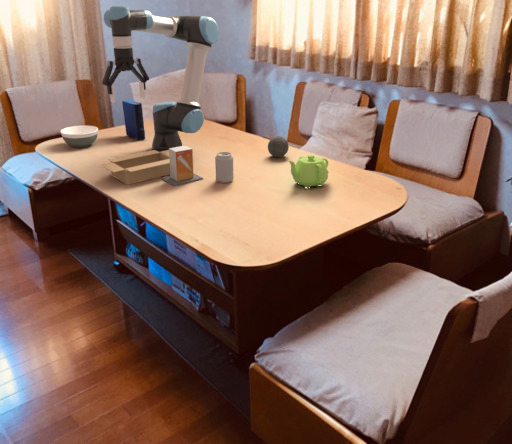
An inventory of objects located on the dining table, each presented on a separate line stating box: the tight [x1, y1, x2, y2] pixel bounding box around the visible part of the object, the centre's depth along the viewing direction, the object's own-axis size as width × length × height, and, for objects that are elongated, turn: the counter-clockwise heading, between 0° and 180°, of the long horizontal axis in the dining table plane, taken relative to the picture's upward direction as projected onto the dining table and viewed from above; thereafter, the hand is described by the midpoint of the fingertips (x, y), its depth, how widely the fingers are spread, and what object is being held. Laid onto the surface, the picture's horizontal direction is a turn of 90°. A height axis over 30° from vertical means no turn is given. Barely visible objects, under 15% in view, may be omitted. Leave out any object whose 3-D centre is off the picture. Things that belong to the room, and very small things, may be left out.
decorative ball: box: [267, 135, 289, 158], centre depth 255 cm, size 10×10×10 cm
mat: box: [160, 172, 204, 187], centre depth 228 cm, size 14×11×1 cm
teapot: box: [288, 154, 329, 188], centre depth 219 cm, size 16×14×13 cm
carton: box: [99, 149, 171, 185], centre depth 233 cm, size 34×21×6 cm, turn 129°
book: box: [121, 99, 146, 141], centre depth 284 cm, size 14×5×20 cm, turn 42°
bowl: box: [59, 125, 99, 149], centre depth 273 cm, size 19×19×8 cm
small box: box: [169, 145, 194, 181], centre depth 225 cm, size 8×6×13 cm
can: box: [214, 151, 235, 184], centre depth 224 cm, size 8×8×12 cm
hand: (128, 100), depth 224 cm, fingers open, 13 cm apart
